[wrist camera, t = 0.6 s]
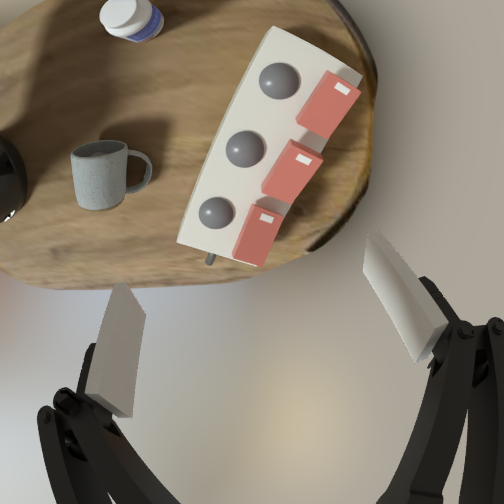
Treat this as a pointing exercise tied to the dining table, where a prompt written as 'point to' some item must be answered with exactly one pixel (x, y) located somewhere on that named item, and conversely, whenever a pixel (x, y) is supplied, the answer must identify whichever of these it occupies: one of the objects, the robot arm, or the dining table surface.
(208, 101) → the dining table surface
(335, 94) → the block
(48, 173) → the dining table surface
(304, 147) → the block
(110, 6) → the pill bottle
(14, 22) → the dining table surface
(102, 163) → the ceramic mug
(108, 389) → the robot arm
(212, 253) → the switch panel
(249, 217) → the block
